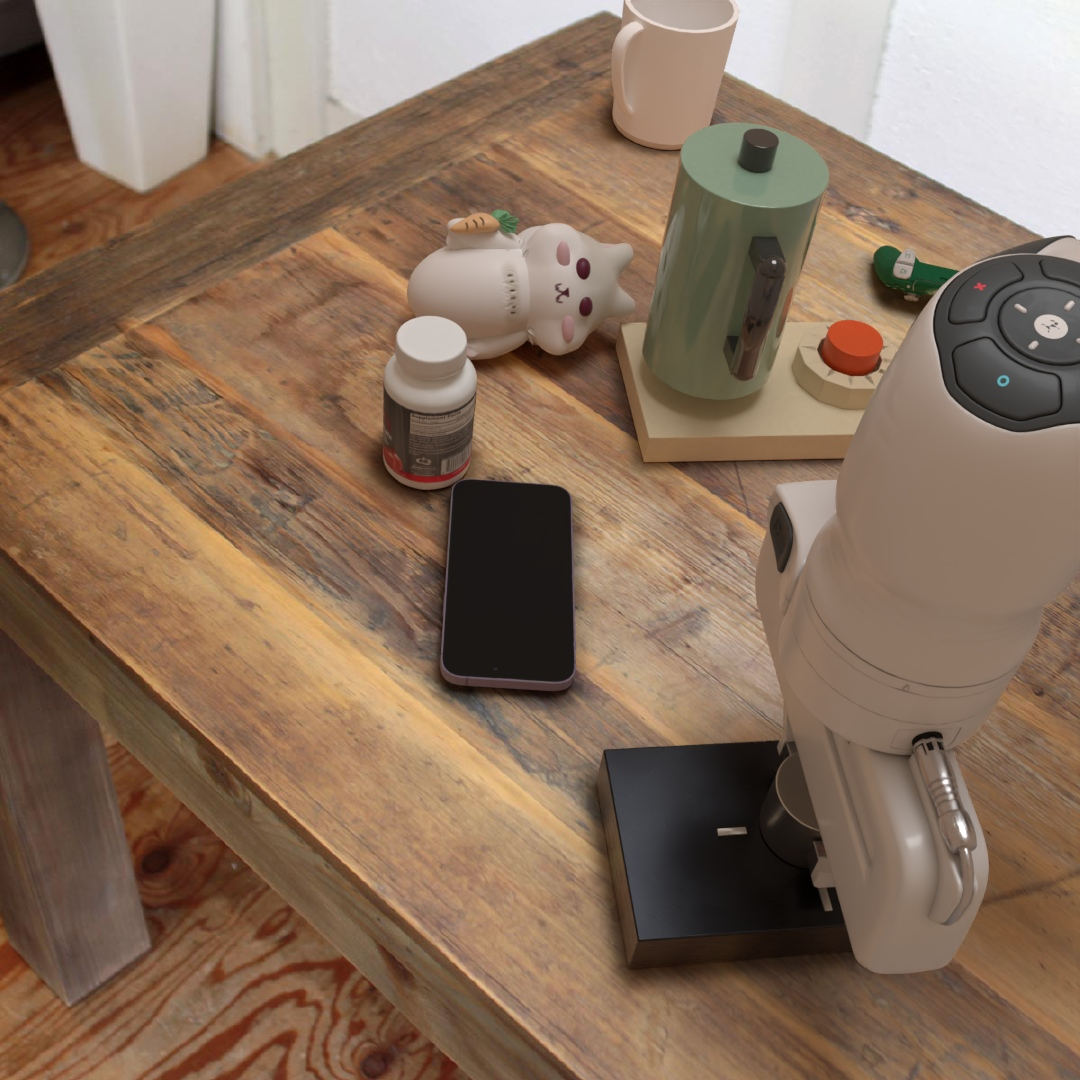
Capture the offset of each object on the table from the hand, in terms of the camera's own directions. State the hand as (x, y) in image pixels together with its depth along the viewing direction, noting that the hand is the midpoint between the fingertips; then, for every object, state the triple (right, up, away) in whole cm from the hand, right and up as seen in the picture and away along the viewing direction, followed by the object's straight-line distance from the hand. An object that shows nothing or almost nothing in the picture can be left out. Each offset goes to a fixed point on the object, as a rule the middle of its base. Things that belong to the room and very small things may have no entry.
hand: (810, 816), depth 63 cm
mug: (-4, +47, +47) cm, 66 cm away
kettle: (-2, +25, +22) cm, 33 cm away
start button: (+7, +25, +24) cm, 35 cm away
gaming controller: (+16, +31, +35) cm, 49 cm away
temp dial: (0, -1, +1) cm, 1 cm away
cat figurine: (-14, +27, +28) cm, 41 cm away
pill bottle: (-20, +18, +19) cm, 33 cm away
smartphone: (-15, +10, +13) cm, 22 cm away
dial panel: (-2, -3, +3) cm, 5 cm away
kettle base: (+1, +22, +25) cm, 34 cm away
